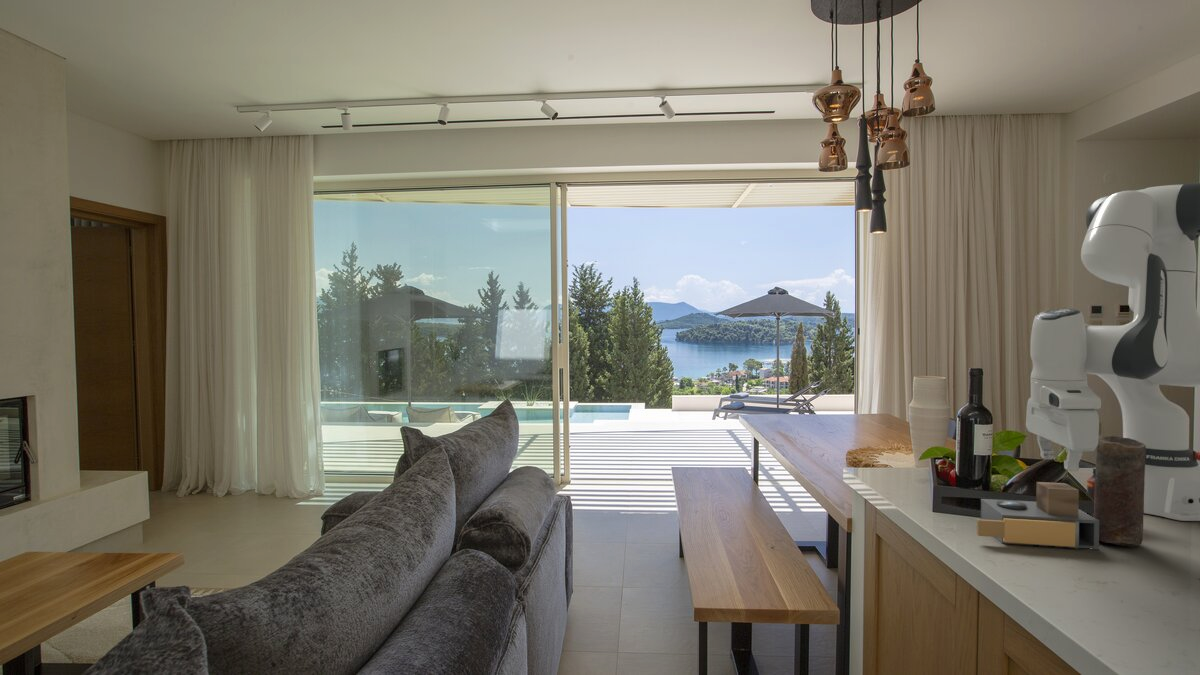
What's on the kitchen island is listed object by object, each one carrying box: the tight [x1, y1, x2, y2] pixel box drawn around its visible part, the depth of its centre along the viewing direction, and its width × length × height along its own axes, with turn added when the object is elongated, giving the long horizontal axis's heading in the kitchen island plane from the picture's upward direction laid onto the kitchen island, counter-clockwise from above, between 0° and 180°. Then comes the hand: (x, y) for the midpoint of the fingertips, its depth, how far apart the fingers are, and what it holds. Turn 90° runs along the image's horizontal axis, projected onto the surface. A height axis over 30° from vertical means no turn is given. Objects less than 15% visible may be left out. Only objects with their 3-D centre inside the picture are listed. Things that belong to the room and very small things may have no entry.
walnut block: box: [1035, 481, 1080, 516], centre depth 120 cm, size 5×5×5 cm
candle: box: [1093, 435, 1146, 548], centre depth 118 cm, size 8×7×20 cm
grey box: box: [980, 498, 1100, 550], centre depth 122 cm, size 16×11×6 cm
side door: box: [976, 518, 1079, 549], centre depth 117 cm, size 17×1×5 cm, turn 77°
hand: (1058, 464), depth 120 cm, fingers open, 8 cm apart
